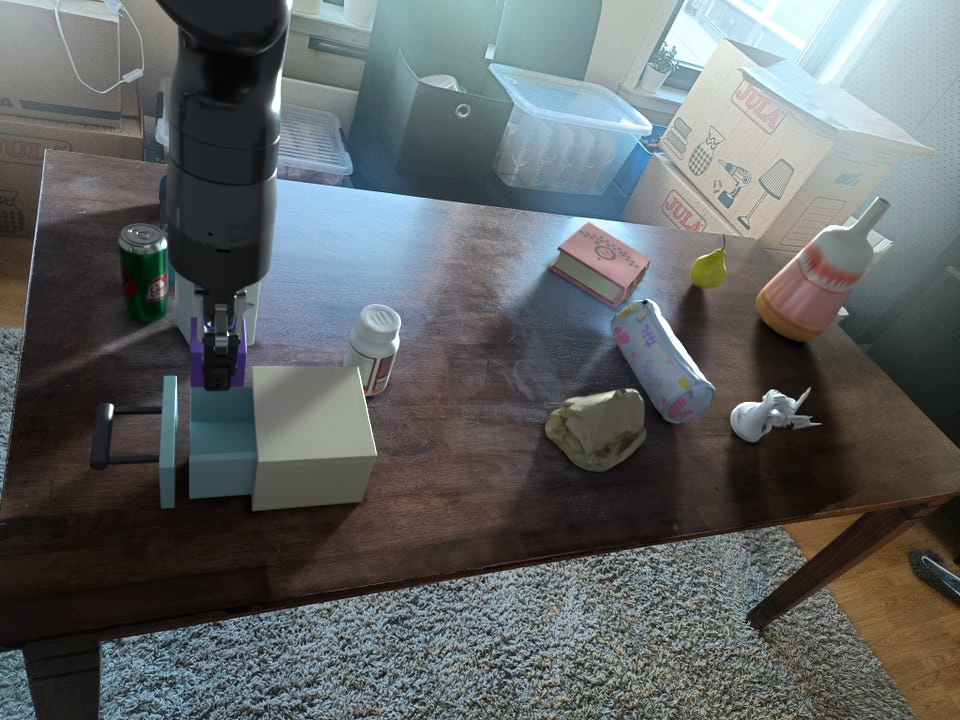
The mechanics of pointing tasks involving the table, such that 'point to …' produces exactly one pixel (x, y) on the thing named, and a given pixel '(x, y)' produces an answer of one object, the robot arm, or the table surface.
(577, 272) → the book
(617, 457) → the beige rock
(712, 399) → the pencil case
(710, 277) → the fruit
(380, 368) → the pill bottle
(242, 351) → the purple cube
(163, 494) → the drawer
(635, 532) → the table surface
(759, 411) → the figurine
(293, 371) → the block
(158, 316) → the soda can
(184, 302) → the white packaging box
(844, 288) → the vase
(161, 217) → the flashlight
